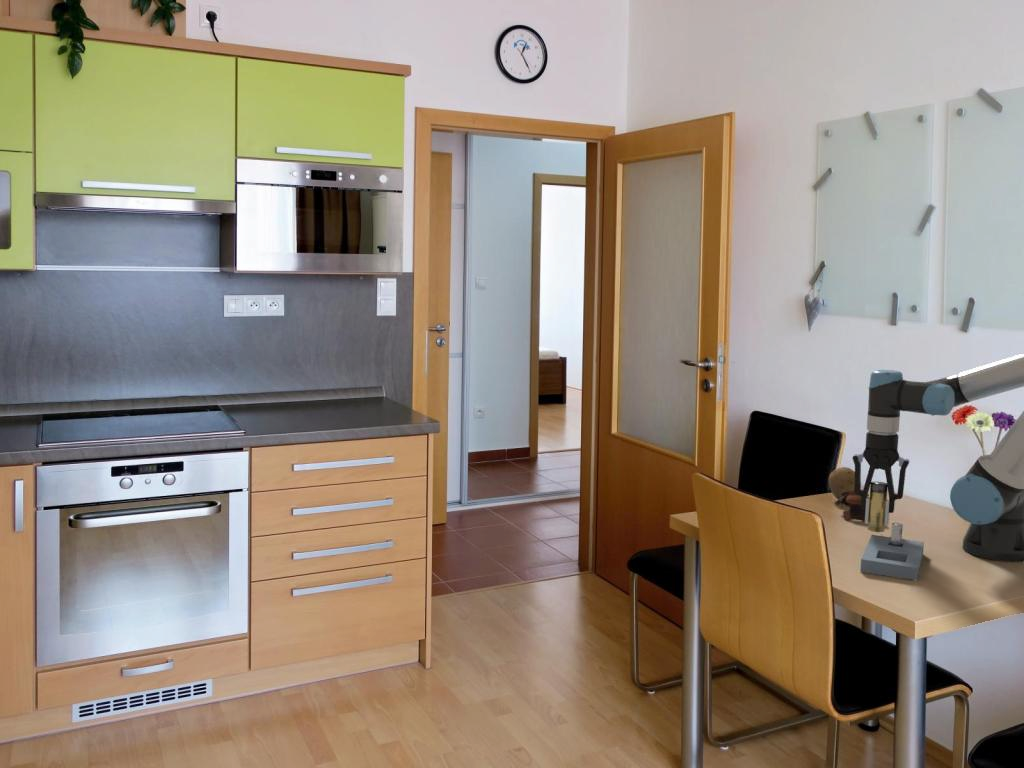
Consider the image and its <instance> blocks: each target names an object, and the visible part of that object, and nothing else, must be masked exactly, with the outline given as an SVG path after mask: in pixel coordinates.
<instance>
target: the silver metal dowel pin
mask: <svg viewBox="0 0 1024 768" xmlns="http://www.w3.org/2000/svg"><path fill="white" fill-rule="evenodd" d="M903 526H904V524H903V523H900V522H892V523H891V532H890V537H891V543H890V545H892V546H898V547H901V540H902V539H903Z"/></svg>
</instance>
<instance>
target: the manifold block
mask: <svg viewBox="0 0 1024 768" xmlns="http://www.w3.org/2000/svg"><path fill="white" fill-rule="evenodd" d="M890 543H891V536H883V535H876V534H871V535H870V538H869V540H868V543H867V545H866V547H865V550H864V552H863V554H862V556H861V560H860V568H859V569H860V571H862V572H861V573H864V572H867V573H866V574H870V573H871V574H872V575H876V574H878V575H877V576H883V575H886V576H885V577H889V576H892V577H891V578H895V577H899V578H898V579H902V578H906V579H905V580H908V579H912V580H911V581H914V580H917V581H918V577H919V574H920V570H921V566H922V565H921V564H922V561H923V560H922V559H923V557H924V547H925V541H919V540H911V539H906V538H902V540H901V547H898V546H892V545H890ZM922 556H923V557H922ZM919 569H920V570H919ZM918 573H919V574H918Z"/></svg>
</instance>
